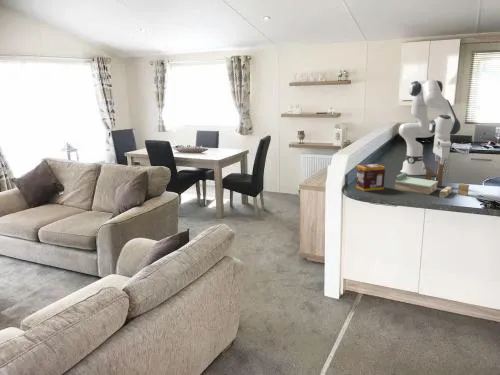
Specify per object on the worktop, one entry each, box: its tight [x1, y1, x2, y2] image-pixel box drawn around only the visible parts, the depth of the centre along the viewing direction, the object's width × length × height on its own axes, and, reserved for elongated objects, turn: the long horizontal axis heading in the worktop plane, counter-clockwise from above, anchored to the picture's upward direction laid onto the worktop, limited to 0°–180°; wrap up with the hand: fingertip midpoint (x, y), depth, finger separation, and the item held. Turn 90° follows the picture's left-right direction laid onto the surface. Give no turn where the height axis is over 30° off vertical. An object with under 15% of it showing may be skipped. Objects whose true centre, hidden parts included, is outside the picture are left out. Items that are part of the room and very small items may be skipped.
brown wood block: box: [456, 183, 470, 197], centre depth 246 cm, size 4×5×6 cm
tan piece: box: [394, 182, 453, 199], centre depth 256 cm, size 16×31×4 cm, turn 49°
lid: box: [394, 172, 438, 188], centre depth 258 cm, size 16×22×4 cm
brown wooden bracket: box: [424, 159, 445, 188], centre depth 266 cm, size 4×11×18 cm, turn 64°
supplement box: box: [355, 163, 386, 192], centre depth 262 cm, size 10×15×16 cm
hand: (439, 162), depth 251 cm, fingers open, 8 cm apart
